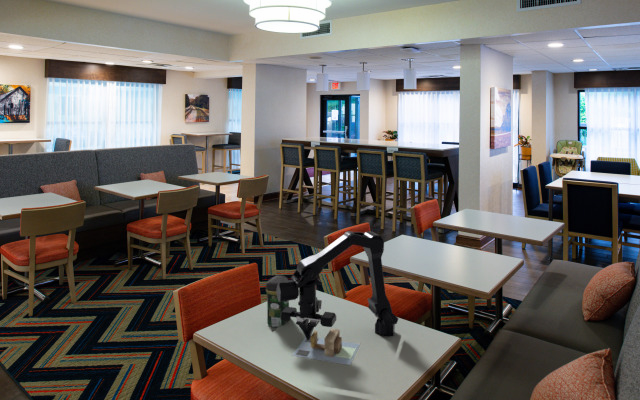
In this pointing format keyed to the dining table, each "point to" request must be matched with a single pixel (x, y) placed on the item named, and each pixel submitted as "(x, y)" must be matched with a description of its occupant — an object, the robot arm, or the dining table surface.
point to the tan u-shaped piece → (320, 346)
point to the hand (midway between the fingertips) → (308, 339)
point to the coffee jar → (275, 302)
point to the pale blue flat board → (319, 354)
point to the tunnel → (331, 341)
